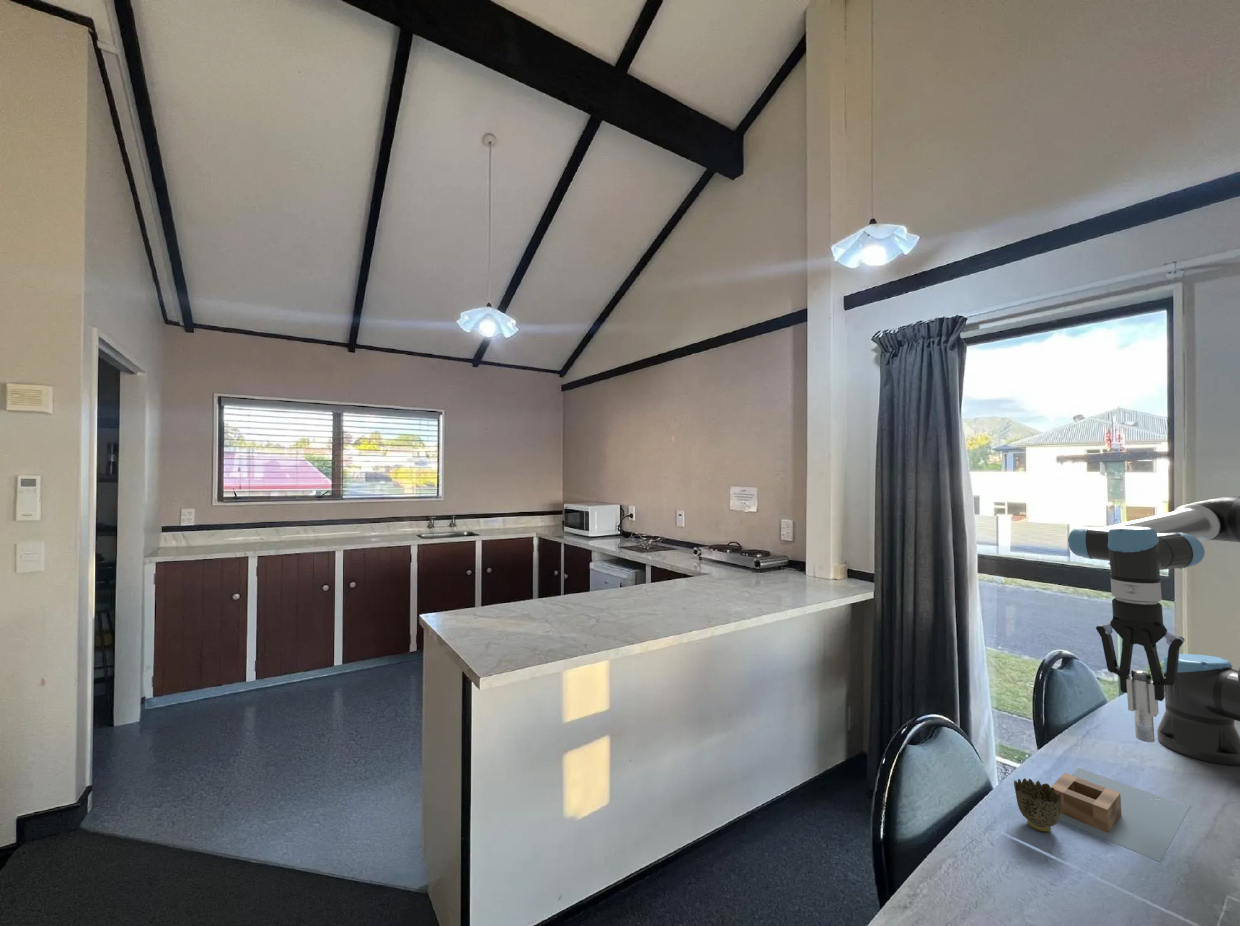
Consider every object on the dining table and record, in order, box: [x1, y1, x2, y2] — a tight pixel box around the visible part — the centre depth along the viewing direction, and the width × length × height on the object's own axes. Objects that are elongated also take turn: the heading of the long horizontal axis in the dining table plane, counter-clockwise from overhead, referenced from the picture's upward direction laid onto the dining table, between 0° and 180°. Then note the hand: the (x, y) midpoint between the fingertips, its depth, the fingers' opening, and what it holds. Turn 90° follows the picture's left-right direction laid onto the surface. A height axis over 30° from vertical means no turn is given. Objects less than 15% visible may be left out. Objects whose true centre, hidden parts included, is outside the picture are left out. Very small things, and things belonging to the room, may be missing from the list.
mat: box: [1058, 767, 1190, 863], centre depth 108 cm, size 26×18×1 cm
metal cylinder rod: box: [1130, 669, 1156, 743], centre depth 108 cm, size 3×3×14 cm
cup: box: [1013, 777, 1062, 834], centre depth 103 cm, size 8×7×8 cm
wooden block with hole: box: [1050, 772, 1121, 833], centre depth 107 cm, size 9×9×4 cm
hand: (1143, 711), depth 108 cm, fingers closed on metal cylinder rod, 3 cm apart
